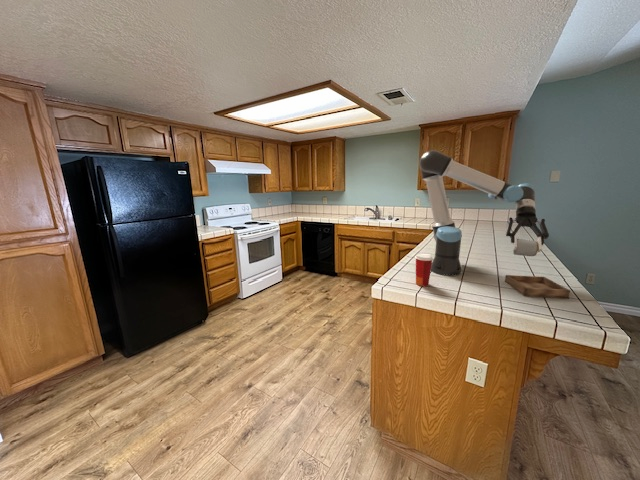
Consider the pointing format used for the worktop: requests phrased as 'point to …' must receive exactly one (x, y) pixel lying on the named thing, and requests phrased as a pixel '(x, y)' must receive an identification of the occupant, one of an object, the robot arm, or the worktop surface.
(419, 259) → the paper cup
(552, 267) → the worktop surface
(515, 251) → the ceramic mug
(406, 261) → the worktop surface
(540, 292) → the tray
